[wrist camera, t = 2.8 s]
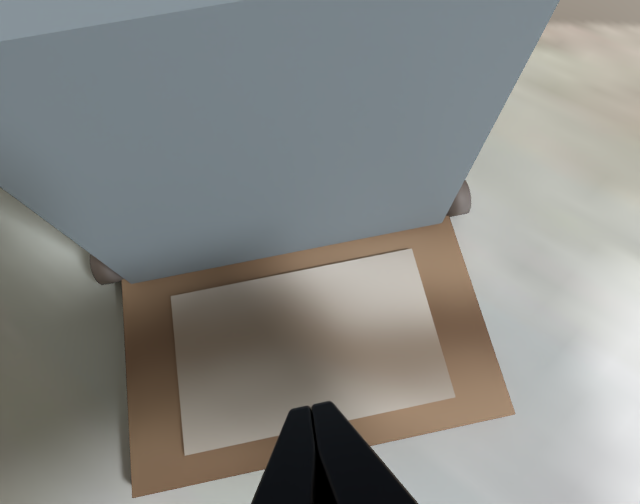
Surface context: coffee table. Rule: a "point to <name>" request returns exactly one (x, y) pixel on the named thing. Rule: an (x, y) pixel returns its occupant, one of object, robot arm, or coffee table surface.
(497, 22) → the door
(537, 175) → the coffee table surface
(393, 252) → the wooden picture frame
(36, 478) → the coffee table surface
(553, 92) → the coffee table surface
